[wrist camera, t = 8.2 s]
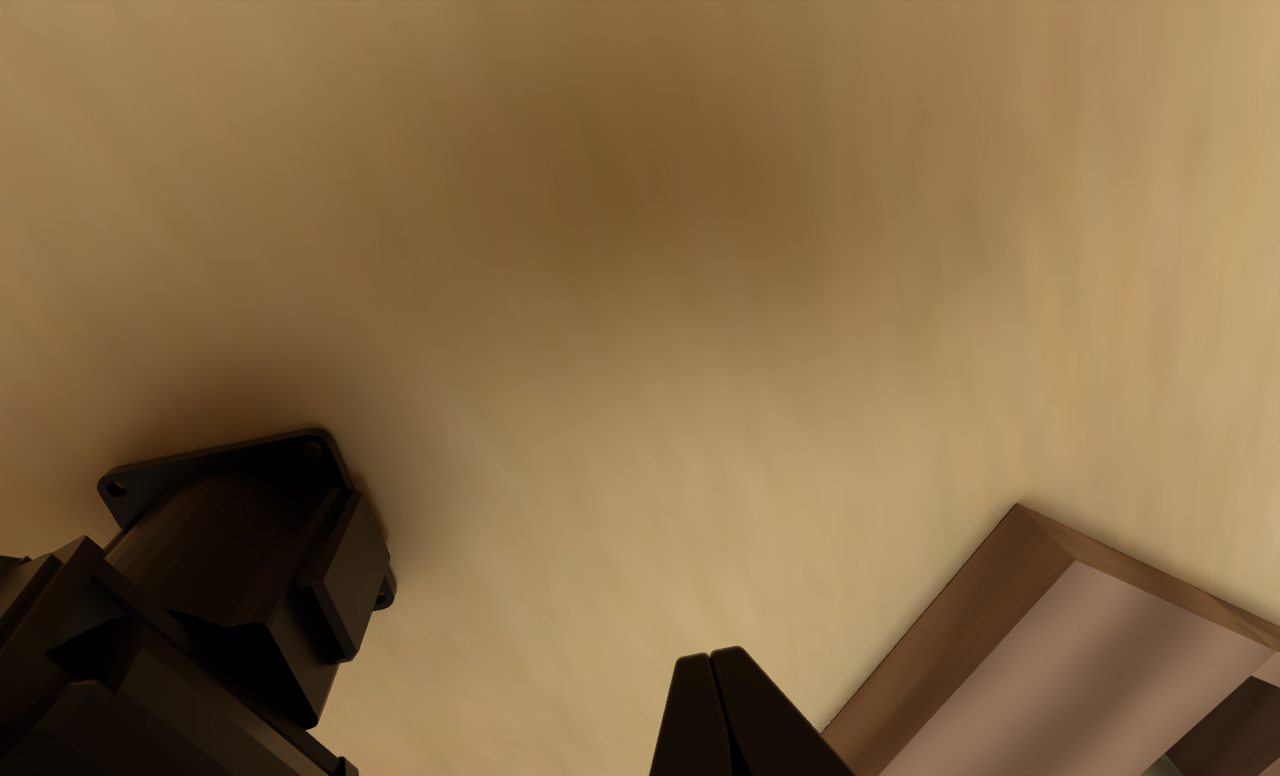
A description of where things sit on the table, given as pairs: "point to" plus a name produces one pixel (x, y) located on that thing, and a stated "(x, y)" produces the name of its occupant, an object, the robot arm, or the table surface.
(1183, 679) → the brown compartment tray
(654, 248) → the table surface
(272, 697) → the robot arm
